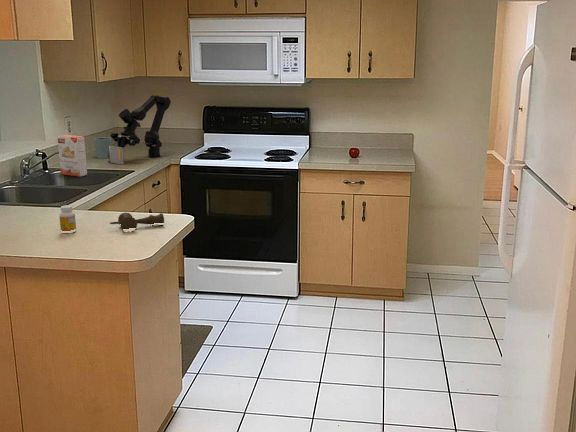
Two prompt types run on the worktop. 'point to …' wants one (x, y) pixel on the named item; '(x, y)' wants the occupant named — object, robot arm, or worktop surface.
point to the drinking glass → (102, 147)
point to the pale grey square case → (116, 155)
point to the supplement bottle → (67, 218)
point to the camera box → (109, 156)
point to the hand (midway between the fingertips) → (118, 149)
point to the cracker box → (72, 155)
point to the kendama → (137, 220)
